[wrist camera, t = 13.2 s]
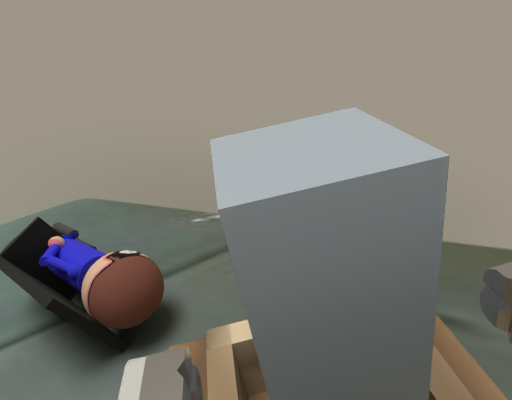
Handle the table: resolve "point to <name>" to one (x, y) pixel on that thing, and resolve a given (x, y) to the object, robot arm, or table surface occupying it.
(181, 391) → the robot arm
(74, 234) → the character figurine
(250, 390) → the cradle jig
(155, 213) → the table surface
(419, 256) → the block
